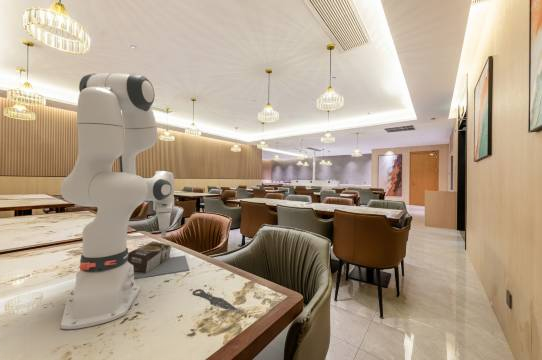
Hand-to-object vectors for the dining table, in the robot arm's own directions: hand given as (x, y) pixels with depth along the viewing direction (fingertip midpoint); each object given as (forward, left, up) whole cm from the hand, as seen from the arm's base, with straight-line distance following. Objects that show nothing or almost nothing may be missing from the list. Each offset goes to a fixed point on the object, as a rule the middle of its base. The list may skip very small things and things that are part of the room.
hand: (163, 235), depth 105 cm
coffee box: (-2, +1, -6) cm, 6 cm away
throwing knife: (-47, -14, -10) cm, 50 cm away
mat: (-12, +1, -10) cm, 16 cm away
